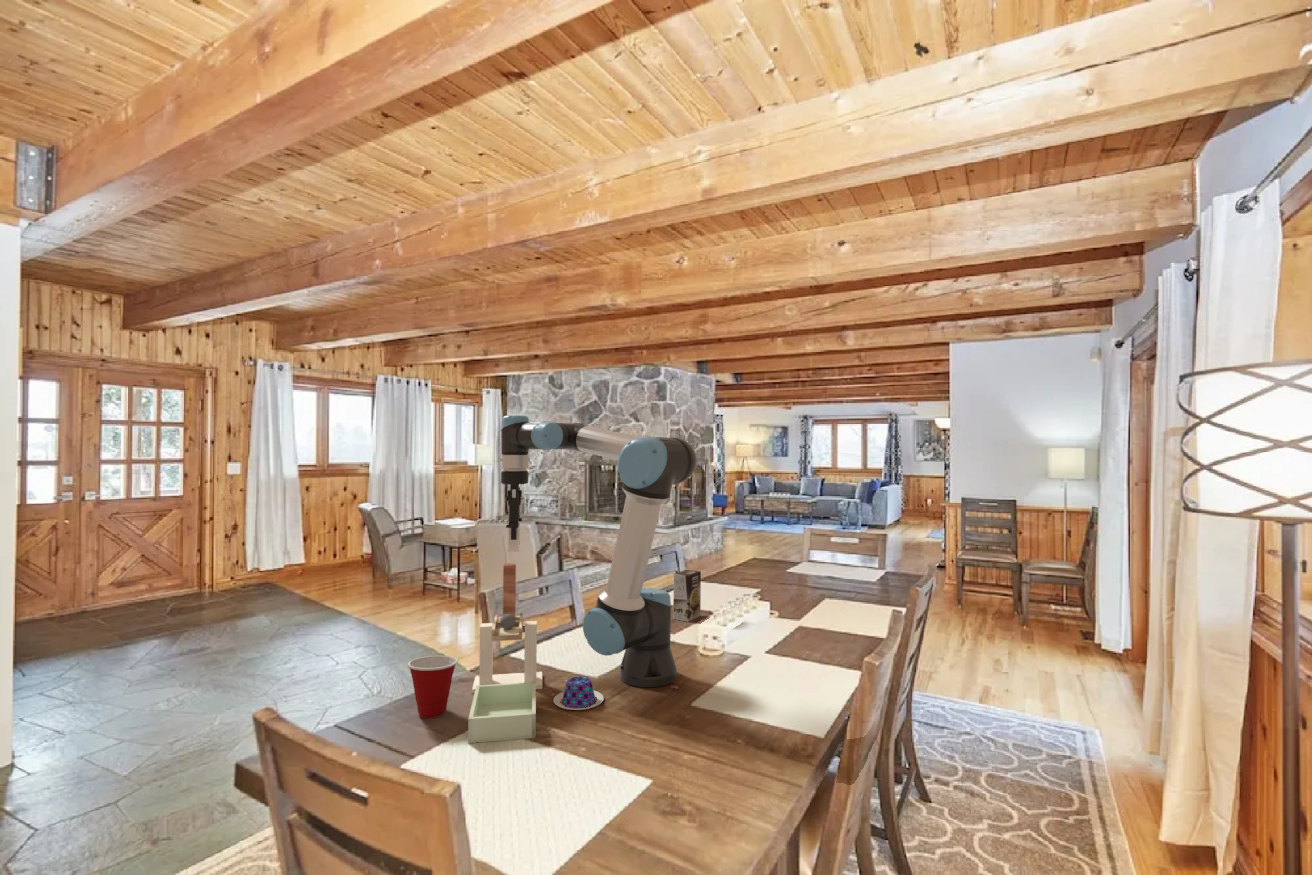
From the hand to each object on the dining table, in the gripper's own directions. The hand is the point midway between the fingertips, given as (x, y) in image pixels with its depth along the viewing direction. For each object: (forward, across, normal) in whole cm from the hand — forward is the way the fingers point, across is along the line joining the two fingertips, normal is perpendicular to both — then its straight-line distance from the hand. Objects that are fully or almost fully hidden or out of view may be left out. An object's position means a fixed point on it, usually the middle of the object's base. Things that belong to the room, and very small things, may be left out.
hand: (514, 547), depth 176 cm
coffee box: (+32, -33, +59) cm, 75 cm away
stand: (+32, +18, -1) cm, 36 cm away
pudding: (+32, +30, +16) cm, 47 cm away
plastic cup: (+32, +31, -17) cm, 48 cm away
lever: (+17, +22, -1) cm, 27 cm away
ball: (+14, +25, -1) cm, 28 cm away
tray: (+32, +39, -1) cm, 50 cm away
